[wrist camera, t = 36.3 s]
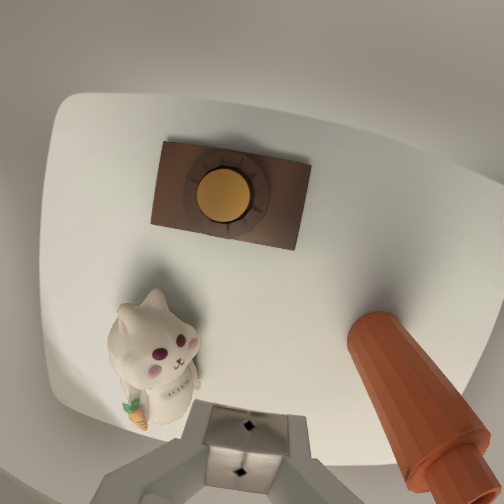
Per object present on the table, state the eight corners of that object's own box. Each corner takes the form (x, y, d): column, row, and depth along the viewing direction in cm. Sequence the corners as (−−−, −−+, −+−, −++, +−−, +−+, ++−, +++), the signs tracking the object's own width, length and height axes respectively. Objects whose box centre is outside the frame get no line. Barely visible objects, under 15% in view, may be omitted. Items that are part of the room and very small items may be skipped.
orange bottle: (403, 308, 29) (535, 456, 8) (396, 358, 30) (490, 513, 9) (349, 314, 29) (449, 499, 8) (344, 365, 31) (410, 547, 9)
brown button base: (309, 166, 27) (315, 164, 24) (293, 248, 28) (296, 255, 25) (167, 142, 27) (156, 138, 24) (154, 222, 28) (142, 227, 25)
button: (254, 174, 24) (254, 173, 23) (245, 223, 25) (244, 226, 24) (206, 166, 24) (201, 165, 23) (197, 214, 25) (193, 217, 24)
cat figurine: (158, 463, 24) (116, 340, 19) (108, 421, 28) (66, 303, 23) (218, 410, 31) (208, 289, 26) (167, 381, 35) (148, 269, 30)
